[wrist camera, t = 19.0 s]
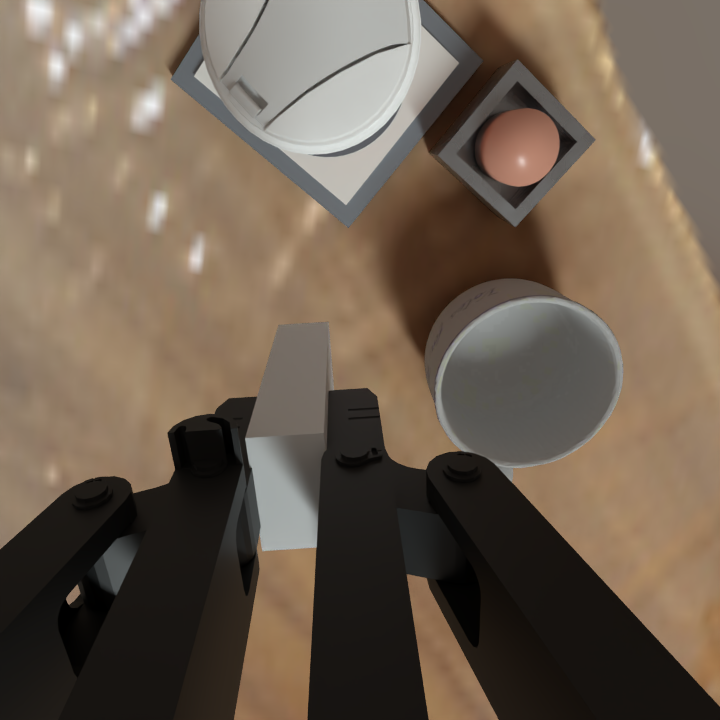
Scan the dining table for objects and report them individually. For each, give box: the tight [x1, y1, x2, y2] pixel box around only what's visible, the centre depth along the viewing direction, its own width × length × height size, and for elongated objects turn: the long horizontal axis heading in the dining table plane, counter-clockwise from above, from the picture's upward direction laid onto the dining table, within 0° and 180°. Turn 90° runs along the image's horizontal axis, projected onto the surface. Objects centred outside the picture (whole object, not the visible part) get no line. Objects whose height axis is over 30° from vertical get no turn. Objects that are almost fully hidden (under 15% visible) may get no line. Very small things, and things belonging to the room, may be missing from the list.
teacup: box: [425, 278, 623, 482], centre depth 35 cm, size 14×11×8 cm
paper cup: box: [199, 0, 421, 155], centre depth 24 cm, size 8×8×14 cm
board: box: [171, 0, 483, 228], centre depth 31 cm, size 13×12×1 cm
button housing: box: [429, 59, 595, 227], centre depth 32 cm, size 6×6×4 cm
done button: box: [475, 108, 560, 187], centre depth 30 cm, size 4×4×3 cm
